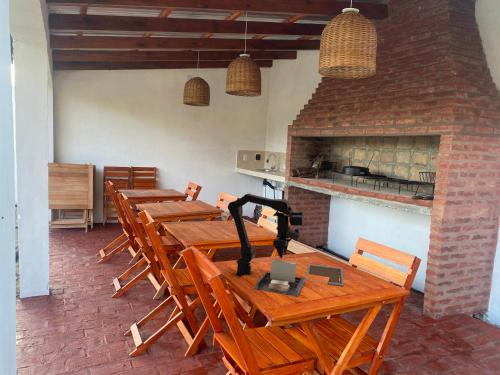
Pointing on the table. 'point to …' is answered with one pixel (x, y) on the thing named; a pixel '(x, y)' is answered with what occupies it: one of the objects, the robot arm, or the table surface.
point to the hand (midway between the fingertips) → (283, 255)
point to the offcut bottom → (279, 288)
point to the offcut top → (279, 283)
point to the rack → (266, 280)
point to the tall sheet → (283, 270)
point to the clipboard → (327, 274)
